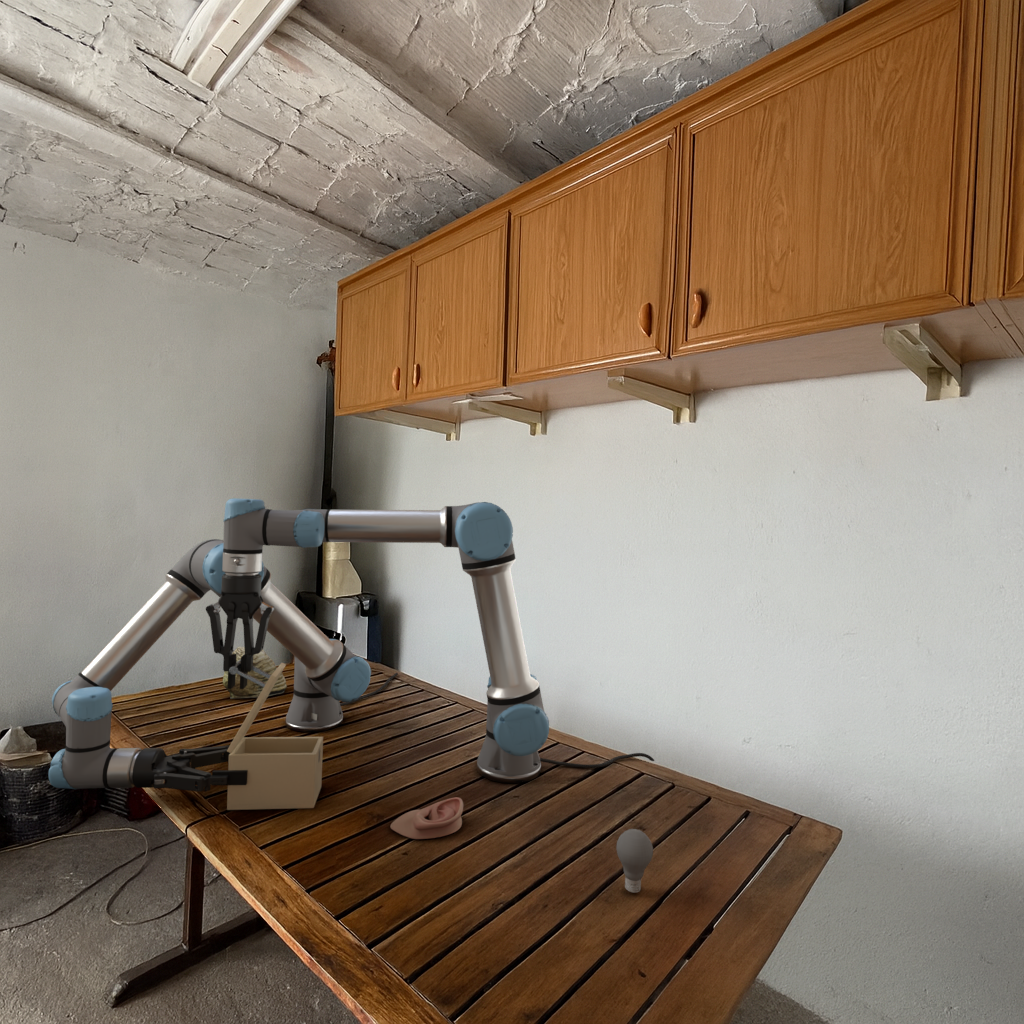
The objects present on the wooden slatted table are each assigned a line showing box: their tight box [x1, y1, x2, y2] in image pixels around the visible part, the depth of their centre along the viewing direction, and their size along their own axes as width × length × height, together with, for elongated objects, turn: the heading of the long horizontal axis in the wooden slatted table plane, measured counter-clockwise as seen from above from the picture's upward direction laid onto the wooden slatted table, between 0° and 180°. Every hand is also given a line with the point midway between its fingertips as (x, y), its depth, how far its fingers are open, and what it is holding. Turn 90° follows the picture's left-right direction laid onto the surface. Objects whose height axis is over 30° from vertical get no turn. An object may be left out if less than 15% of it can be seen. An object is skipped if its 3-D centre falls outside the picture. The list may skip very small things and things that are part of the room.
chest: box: [226, 736, 324, 811], centre depth 132 cm, size 17×10×11 cm, turn 98°
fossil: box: [222, 646, 288, 699], centre depth 198 cm, size 9×18×15 cm, turn 132°
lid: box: [227, 659, 287, 753], centre depth 131 cm, size 17×10×9 cm
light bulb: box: [615, 828, 654, 894], centre depth 106 cm, size 6×6×10 cm
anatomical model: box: [390, 797, 464, 840], centre depth 124 cm, size 13×4×12 cm
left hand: (253, 766), depth 132 cm, fingers closed on chest, 9 cm apart
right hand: (237, 686), depth 131 cm, fingers closed on lid, 2 cm apart
